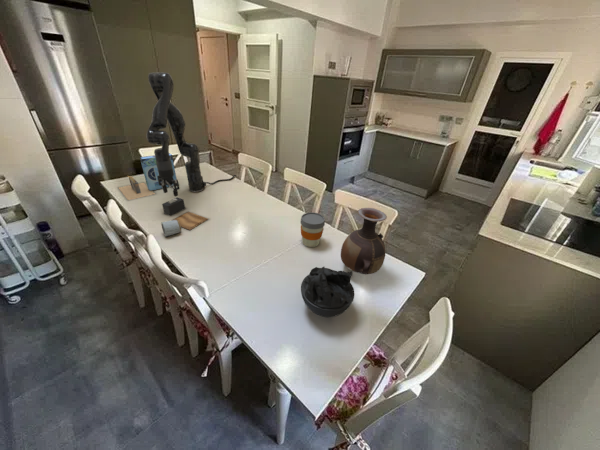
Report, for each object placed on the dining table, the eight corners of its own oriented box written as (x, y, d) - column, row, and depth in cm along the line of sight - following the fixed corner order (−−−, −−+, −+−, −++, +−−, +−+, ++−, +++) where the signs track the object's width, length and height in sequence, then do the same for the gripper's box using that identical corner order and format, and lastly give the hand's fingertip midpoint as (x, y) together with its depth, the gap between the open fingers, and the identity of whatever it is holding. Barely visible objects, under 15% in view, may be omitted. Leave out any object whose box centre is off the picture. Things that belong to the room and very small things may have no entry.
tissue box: (179, 206, 161) (176, 196, 157) (185, 208, 159) (183, 198, 155) (164, 213, 152) (161, 202, 148) (170, 215, 150) (168, 205, 147)
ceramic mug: (182, 234, 135) (180, 221, 131) (166, 239, 131) (163, 226, 127) (177, 225, 142) (174, 213, 138) (161, 230, 138) (157, 217, 134)
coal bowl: (289, 312, 96) (291, 275, 86) (314, 281, 111) (318, 247, 101) (337, 338, 88) (345, 301, 78) (357, 301, 102) (366, 266, 93)
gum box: (175, 183, 191) (169, 152, 179) (178, 185, 188) (172, 154, 176) (147, 188, 179) (139, 156, 167) (149, 191, 176) (141, 158, 164)
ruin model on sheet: (118, 187, 179) (113, 174, 173) (143, 182, 189) (140, 169, 183) (128, 200, 164) (123, 186, 159) (155, 193, 174) (151, 180, 169)
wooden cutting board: (188, 212, 155) (188, 211, 155) (208, 219, 149) (208, 218, 149) (169, 222, 144) (168, 221, 144) (189, 230, 139) (189, 229, 138)
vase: (370, 292, 107) (387, 234, 91) (330, 274, 115) (339, 217, 100) (385, 264, 124) (402, 210, 108) (349, 249, 132) (359, 198, 116)
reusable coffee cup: (310, 232, 144) (312, 209, 136) (326, 242, 136) (330, 219, 128) (294, 241, 136) (295, 217, 128) (311, 252, 128) (313, 227, 121)
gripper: (179, 168, 141) (184, 194, 150) (162, 163, 147) (167, 189, 155) (168, 172, 136) (174, 199, 144) (150, 167, 141) (157, 193, 149)
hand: (170, 194), depth 149 cm, fingers open, 8 cm apart
